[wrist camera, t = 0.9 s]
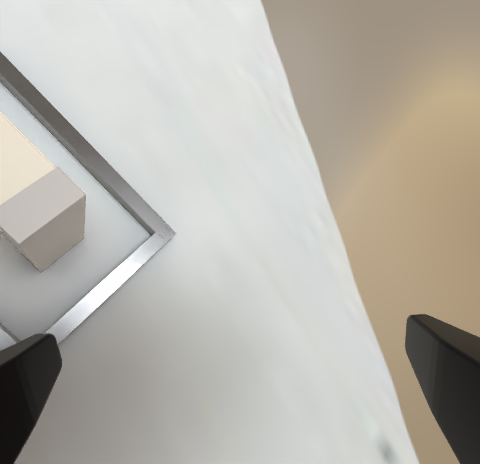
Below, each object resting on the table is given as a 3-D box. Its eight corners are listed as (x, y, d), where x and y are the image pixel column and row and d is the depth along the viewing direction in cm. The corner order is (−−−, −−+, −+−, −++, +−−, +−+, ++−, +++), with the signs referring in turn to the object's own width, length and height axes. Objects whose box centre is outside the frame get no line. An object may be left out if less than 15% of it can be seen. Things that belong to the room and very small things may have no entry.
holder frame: (25, 374, 20) (22, 377, 19) (-225, 151, 18) (-245, 140, 17) (172, 237, 25) (176, 233, 24) (-8, 52, 23) (-12, 39, 22)
